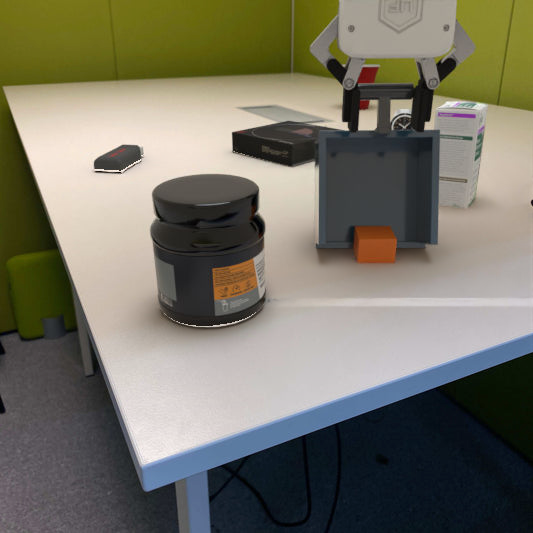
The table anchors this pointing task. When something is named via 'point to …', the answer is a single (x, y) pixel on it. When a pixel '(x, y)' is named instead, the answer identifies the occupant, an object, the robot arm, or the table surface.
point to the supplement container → (208, 248)
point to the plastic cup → (367, 80)
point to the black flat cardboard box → (279, 142)
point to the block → (374, 244)
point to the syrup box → (460, 150)
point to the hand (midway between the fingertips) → (384, 127)
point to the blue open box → (377, 178)
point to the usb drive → (119, 157)
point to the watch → (401, 120)
